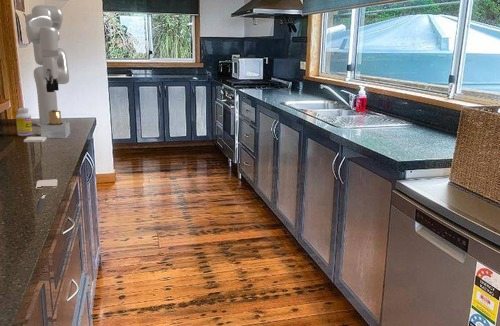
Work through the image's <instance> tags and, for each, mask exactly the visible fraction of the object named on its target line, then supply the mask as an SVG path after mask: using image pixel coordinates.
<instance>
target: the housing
mask: <svg viewBox="0 0 500 326" xmlns="http://www.w3.org/2000/svg"><path fill="white" fill-rule="evenodd" d="M70 125H71V124H70V121H61V125H49V122H45V123H44V124H42V125H41V126H40V137H47V139H67V138H68V137H69V136H70V135H71V127H70Z"/></svg>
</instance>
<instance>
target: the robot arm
mask: <svg viewBox="0 0 500 326" xmlns="http://www.w3.org/2000/svg"><path fill="white" fill-rule="evenodd" d="M62 12H63V11H62V9H61V8H60V7H59V6H56V5H43V4H38V5H35V6H33V7H32V9H31V13H29V14H27V15H25V18H24V22H25V33H26V38H27V40H28V41H29V43H32V47H33V57H34V61H35V63H36V64H37V65H39V66H37V67H35V68H34V69H33V79H34V82H35V87H36V95H37V106H38V118H39V121H38V122H37V123H36V126H37V127H41V125H42V124H44V123H45V122H49V114H48V111H52V110H57V111H59V110H58V99H57V91H59V85H66V84H68V83H69V82H70V72H69V66H68V58H67V53H66V51H65V49H64V48H61V47H59V45H58V44H59V40H61V39H60V36H61V35H60V30H61V27H62V25H63V24H62V23H63V19H64V18H63V16H64V15H63V13H62Z"/></svg>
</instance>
